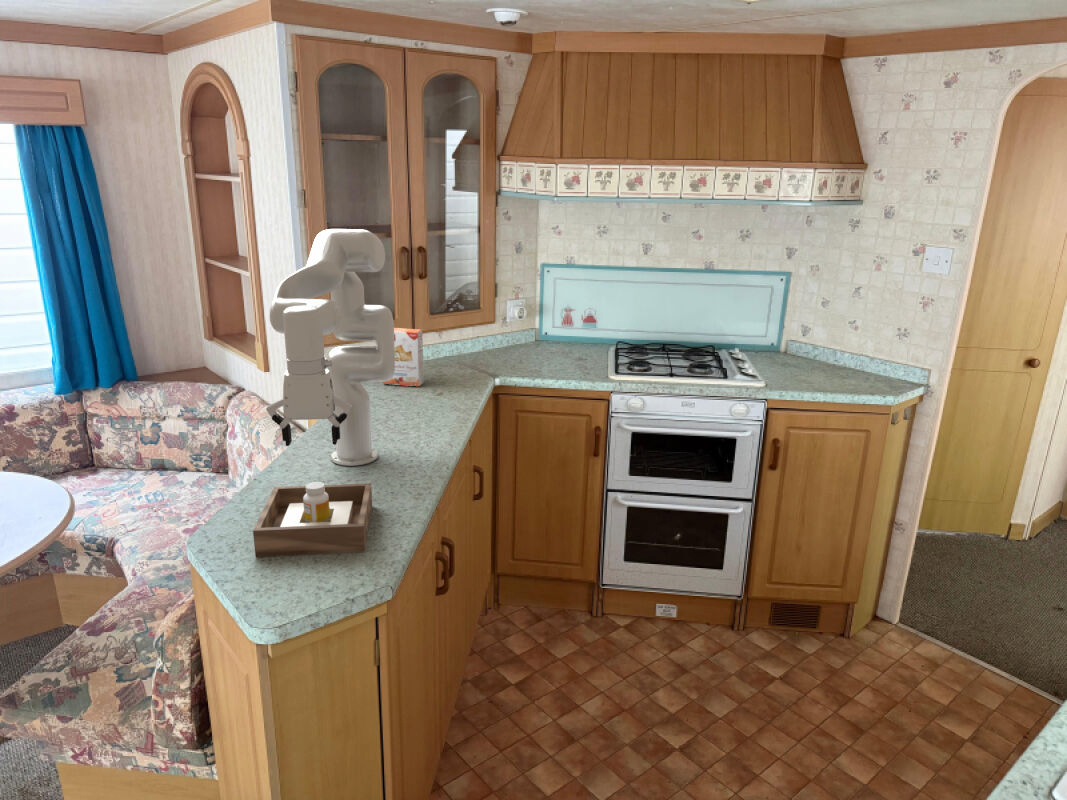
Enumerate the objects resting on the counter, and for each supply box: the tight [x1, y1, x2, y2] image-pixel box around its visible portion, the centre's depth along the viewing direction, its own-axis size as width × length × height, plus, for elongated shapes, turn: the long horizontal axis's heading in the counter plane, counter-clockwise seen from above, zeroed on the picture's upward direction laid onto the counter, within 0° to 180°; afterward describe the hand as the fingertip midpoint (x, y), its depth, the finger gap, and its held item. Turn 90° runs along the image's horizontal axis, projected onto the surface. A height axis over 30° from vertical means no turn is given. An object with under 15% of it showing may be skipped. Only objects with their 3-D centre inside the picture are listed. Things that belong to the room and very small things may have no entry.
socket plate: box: [280, 501, 353, 527], centre depth 164 cm, size 14×14×2 cm
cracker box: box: [382, 327, 424, 386], centre depth 274 cm, size 14×6×21 cm, turn 81°
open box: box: [252, 483, 373, 558], centre depth 164 cm, size 22×22×6 cm
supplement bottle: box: [303, 481, 330, 523], centre depth 163 cm, size 5×5×10 cm
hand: (312, 443), depth 159 cm, fingers open, 9 cm apart
